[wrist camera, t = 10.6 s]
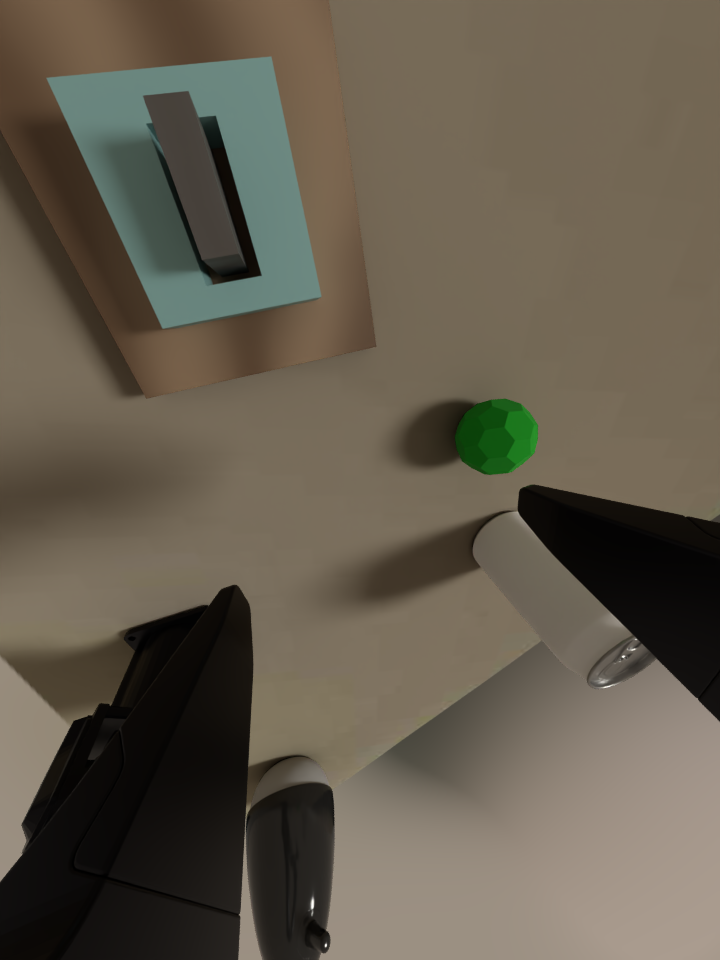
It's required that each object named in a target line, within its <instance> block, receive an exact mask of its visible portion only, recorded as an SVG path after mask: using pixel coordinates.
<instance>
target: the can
mask: <svg viewBox="0 0 720 960" xmlns="http://www.w3.org/2000/svg"><path fill="white" fill-rule="evenodd" d="M473 556H474V559H475V560H476V562H477V563H478V564H479V565H480V567H481V568H482V569H483V570H484V571H485V573H486V574H487V575H488V576H489V577H490V579H491V580H492V581H493V582H494V583H495V585H496V586H497V587H498V588H499V589H500V591H501V592H502V593H503V594H504V595H505V597H506V598H507V599H508V600H509V601H510V603H511V604H512V605H513V606H514V607H515V609H516V610H517V611H518V612H519V613H520V615H521V616H522V617H523V618H524V619H525V621H526V622H527V623H528V624H529V625H530V627H531V628H532V629H533V630H534V631H535V633H536V634H537V635H538V636H539V637H540V638H541V640H542V641H543V642H544V643H545V644H546V645H547V647H548V648H549V649H550V650H551V651H552V653H553V654H554V655H555V656H556V657H557V658H558V660H559V661H560V662H561V663H562V664H563V665H564V666H565V667H567V668H568V669H570V670H571V671H573V672H575V673H577V674H578V675H580V676H581V677H583V678H584V679H586V681H587V683H588V685H589V686H590V687H591V688H594V689H603V688H608V687H612V686H614V685H617V684H619V683H621V682H624V681H626V680H628V679H629V678H631V677H633V676H635V675H636V674H638V673H639V672H641V671H642V670H643V669H645V668H646V667H647V666H649V665H650V664H651V663H652V662H653V661H655V660H656V659H657V658H656V657H655V656H654V655H653V654H652V653H651V652H650V651H649V650H648V649H647V648H646V647H645V646H644V645H643V644H642V643H641V642H640V641H639V640H638V639H637V638H636V637H635V636H634V635H633V634H632V633H631V632H630V631H629V630H628V629H627V628H626V627H625V626H624V625H622V624H621V623H620V622H619V621H618V620H617V619H616V618H615V617H614V616H613V615H612V614H611V613H610V612H609V611H608V610H607V609H606V608H605V607H604V606H603V605H602V604H601V603H600V602H599V601H598V600H597V599H596V598H595V597H594V596H593V595H592V594H591V593H590V592H589V591H588V590H587V589H586V588H585V587H584V586H583V585H582V584H581V583H580V582H579V581H578V580H577V579H576V578H575V577H574V576H573V575H572V574H571V573H570V572H569V571H568V570H567V569H566V568H565V567H564V566H563V565H562V564H561V563H560V562H559V561H558V560H557V559H556V558H555V557H554V556H553V555H552V554H551V552H550V551H549V550H548V549H547V548H546V547H545V545H544V544H543V543H542V542H541V541H540V539H539V538H538V537H537V536H536V535H535V533H534V532H533V531H532V530H531V529H530V527H529V526H528V525H527V524H526V522H525V521H524V520H523V519H522V518H521V516H520V515H519V512H506V513H502V514H500V515H497V516H495V517H494V518H492V519H491V520H489V521H488V522H487V523H486V524H485V525H484V526H483V527H482V528H481V529H480V530H479V532H478V533H477V535H476V537H475V539H474V543H473Z"/></svg>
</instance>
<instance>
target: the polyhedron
mask: <svg viewBox="0 0 720 960" xmlns="http://www.w3.org/2000/svg"><path fill="white" fill-rule="evenodd" d="M537 440H538V425H537V423H536V421H535V420H534V418H533V417H532V415H531V414H530V412H529V411H528V410H527V409H526V408H525V407H523V406H522V405H521V404H520V403H517V402H514V401H511V400H508V399H495V400H489V401H485V402H482V403H478V404H476V405H475V406H474V407H473V408H471V409H470V410H469V411H468V412H466V413H465V414H464V416H463V418H462V419H461V421H460V423H459V425H458V428H457V431H456V434H455V442H456V448H457V451H458V453H459V455H460V458H461V460H462V461H463V462H464V463H465V464H467V465H468V466H470V467H471V468H473V469H475V470H477V471H479V472H481V473H483V474H487V475H492V474H503V473H509V472H512V471H514V470H515V469H516V468H518V467H519V466H520V465H522V464H523V463H524V462H525V461H526V460H528V459H529V458H530V457H531V456H532V455H533V454H534V452H535V448H536V444H537Z"/></svg>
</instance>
